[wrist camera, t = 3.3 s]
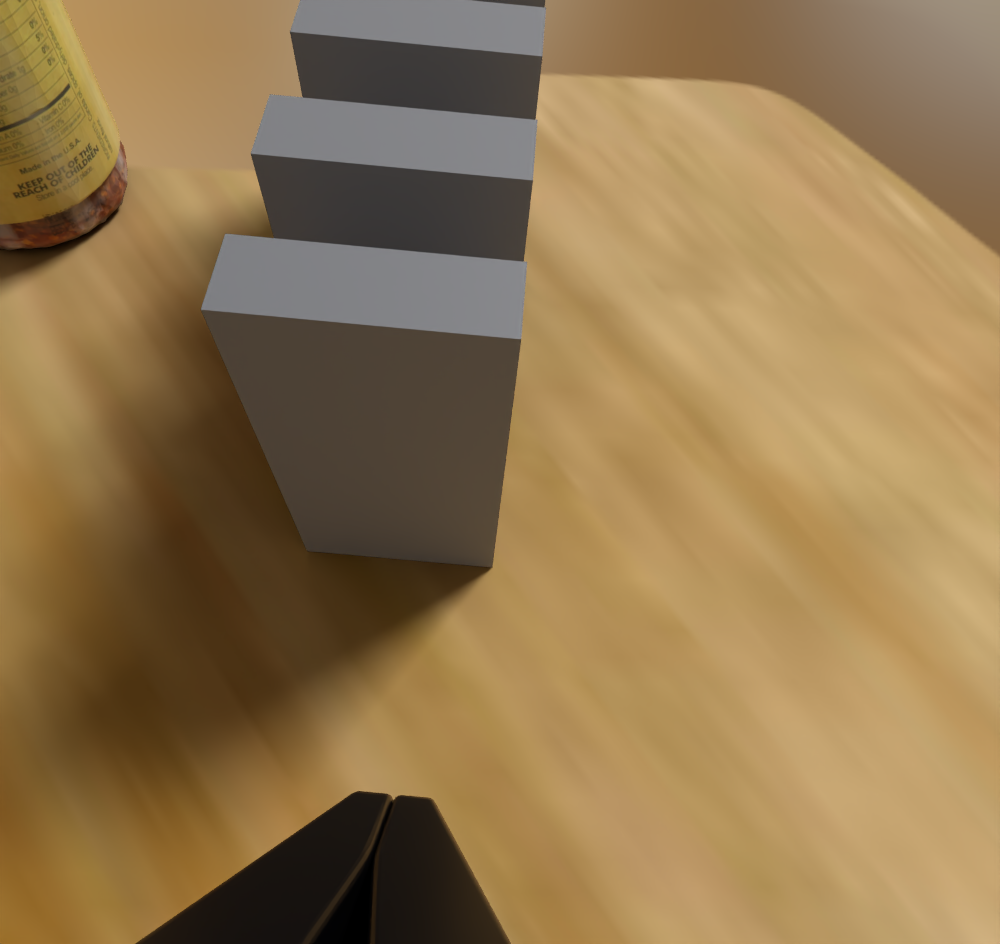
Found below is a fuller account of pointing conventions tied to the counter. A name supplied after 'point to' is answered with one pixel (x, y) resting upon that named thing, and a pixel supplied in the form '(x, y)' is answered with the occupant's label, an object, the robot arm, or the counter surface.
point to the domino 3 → (375, 388)
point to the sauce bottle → (52, 131)
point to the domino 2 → (396, 177)
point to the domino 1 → (422, 54)
